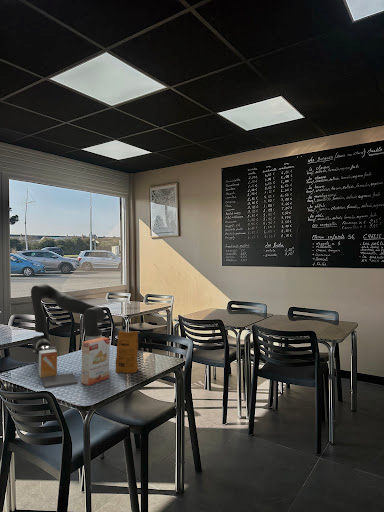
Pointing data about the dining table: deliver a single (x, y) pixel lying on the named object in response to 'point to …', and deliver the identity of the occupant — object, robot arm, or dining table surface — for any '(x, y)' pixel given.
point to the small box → (47, 363)
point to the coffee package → (127, 352)
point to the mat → (59, 380)
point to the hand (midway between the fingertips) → (46, 353)
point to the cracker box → (95, 360)
